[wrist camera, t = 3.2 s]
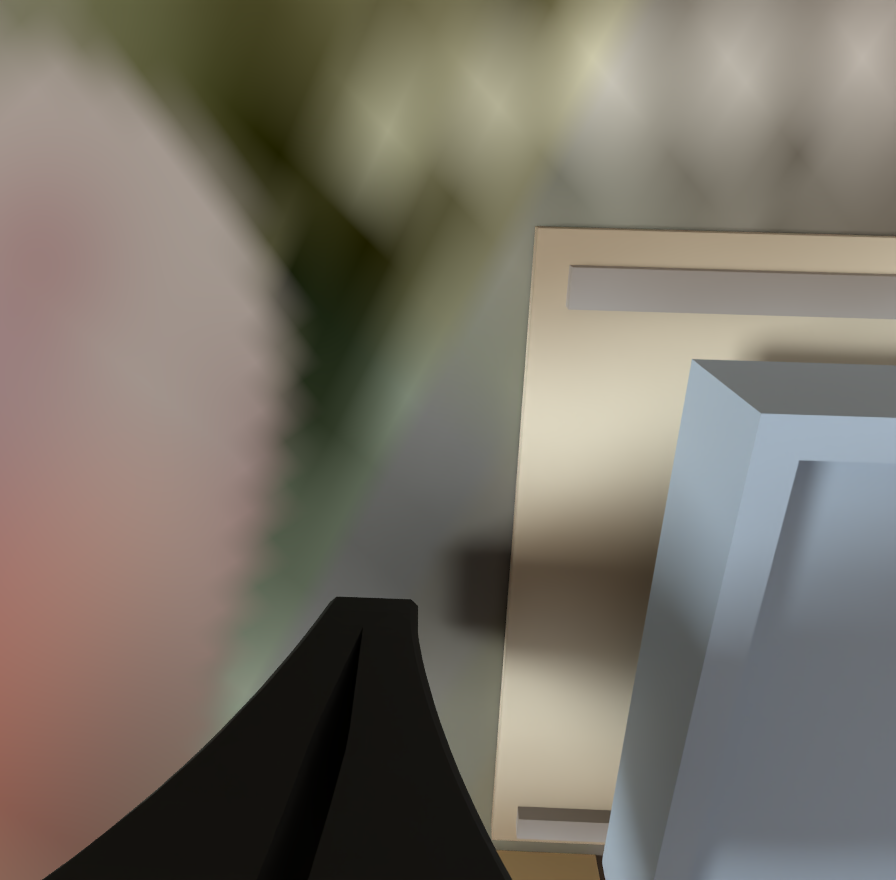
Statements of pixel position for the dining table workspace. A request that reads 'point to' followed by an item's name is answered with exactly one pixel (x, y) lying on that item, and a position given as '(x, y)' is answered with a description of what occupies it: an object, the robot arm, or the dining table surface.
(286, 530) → the dining table surface
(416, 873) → the robot arm
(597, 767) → the track
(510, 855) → the ochre block
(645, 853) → the blue square tray
